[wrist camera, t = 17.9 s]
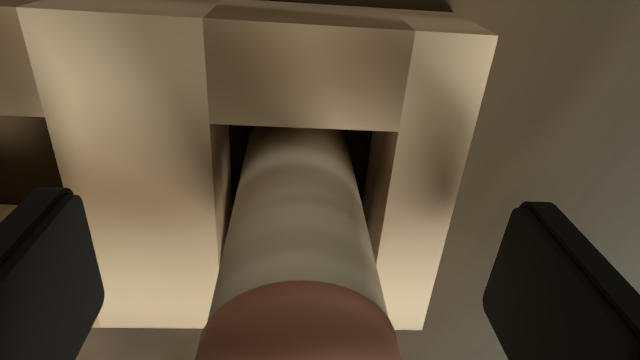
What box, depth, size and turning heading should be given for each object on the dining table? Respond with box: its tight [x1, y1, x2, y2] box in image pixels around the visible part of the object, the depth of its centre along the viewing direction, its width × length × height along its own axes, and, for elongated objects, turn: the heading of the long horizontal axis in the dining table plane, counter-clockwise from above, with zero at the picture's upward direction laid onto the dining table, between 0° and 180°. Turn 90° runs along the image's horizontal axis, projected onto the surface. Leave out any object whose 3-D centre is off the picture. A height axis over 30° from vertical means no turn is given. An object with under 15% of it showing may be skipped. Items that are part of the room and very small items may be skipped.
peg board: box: [0, 0, 498, 330], centre depth 12 cm, size 9×16×3 cm, turn 86°
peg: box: [195, 126, 402, 360], centre depth 10 cm, size 3×3×8 cm
